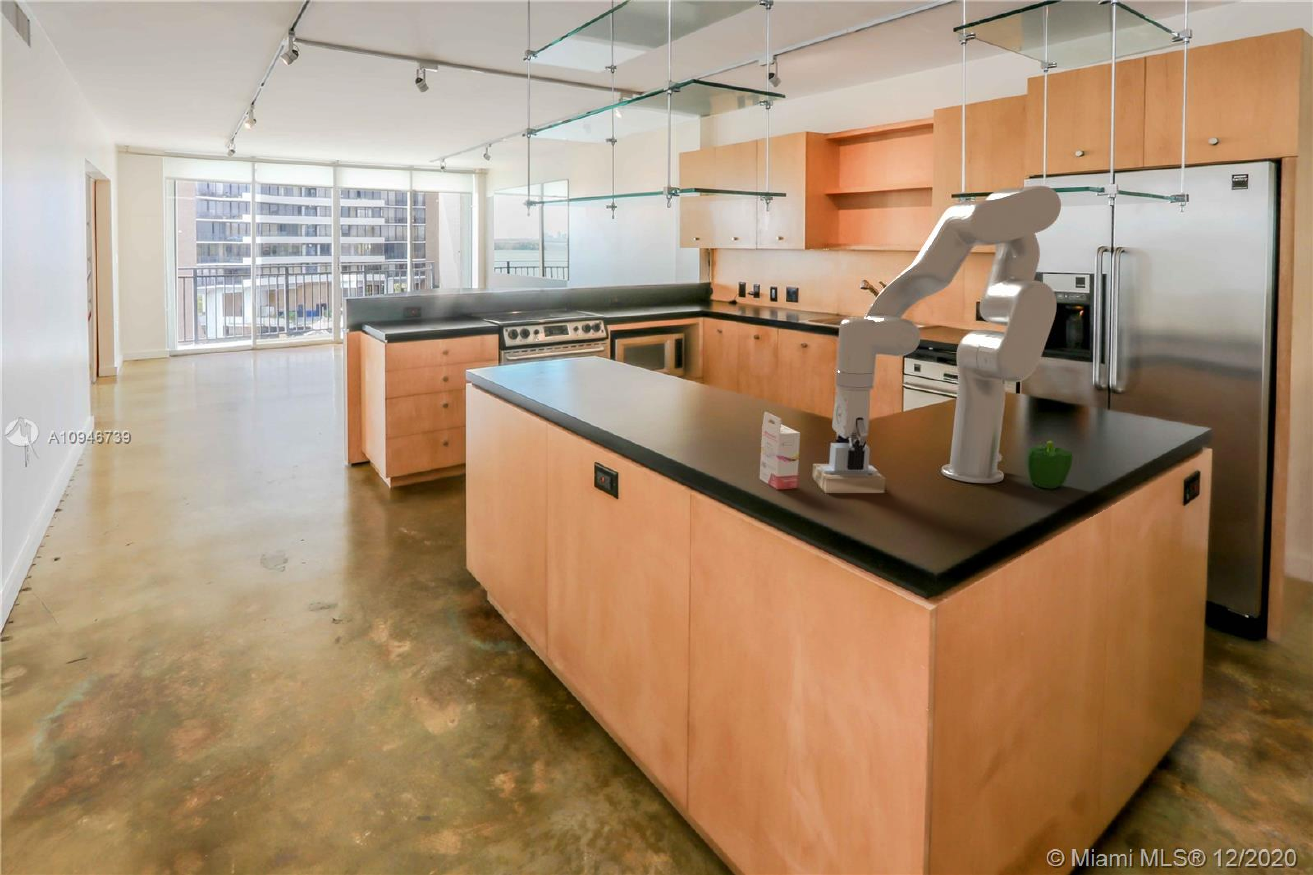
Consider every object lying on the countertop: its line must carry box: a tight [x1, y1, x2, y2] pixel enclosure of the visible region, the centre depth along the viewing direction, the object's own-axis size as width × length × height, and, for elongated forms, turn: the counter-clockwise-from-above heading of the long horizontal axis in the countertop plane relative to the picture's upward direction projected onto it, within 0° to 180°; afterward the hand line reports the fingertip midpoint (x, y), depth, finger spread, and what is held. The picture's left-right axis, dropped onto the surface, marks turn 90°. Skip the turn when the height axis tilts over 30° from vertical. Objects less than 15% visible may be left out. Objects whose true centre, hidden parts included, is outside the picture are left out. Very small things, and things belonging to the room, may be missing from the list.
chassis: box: [811, 463, 886, 494], centre depth 163 cm, size 11×12×3 cm
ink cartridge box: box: [759, 411, 801, 490], centre depth 162 cm, size 9×5×15 cm, turn 18°
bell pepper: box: [1026, 440, 1074, 489], centre depth 164 cm, size 8×8×10 cm
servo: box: [820, 440, 879, 475], centre depth 162 cm, size 4×11×10 cm, turn 93°
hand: (848, 463), depth 162 cm, fingers open, 8 cm apart
